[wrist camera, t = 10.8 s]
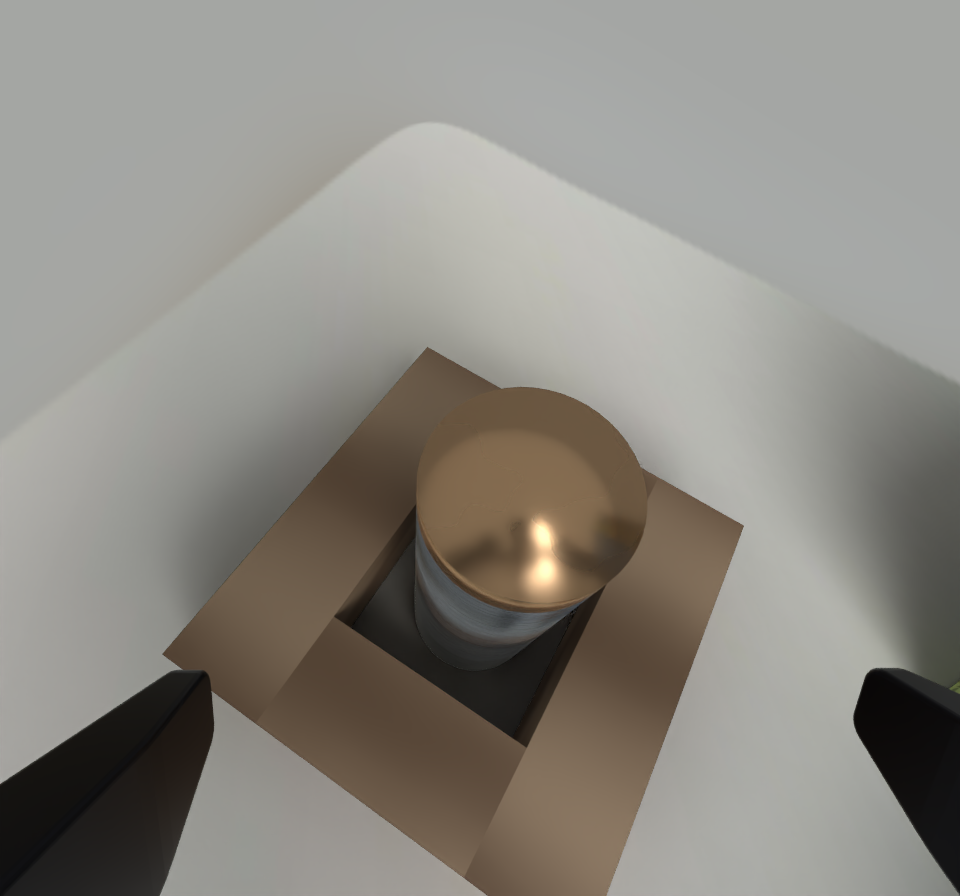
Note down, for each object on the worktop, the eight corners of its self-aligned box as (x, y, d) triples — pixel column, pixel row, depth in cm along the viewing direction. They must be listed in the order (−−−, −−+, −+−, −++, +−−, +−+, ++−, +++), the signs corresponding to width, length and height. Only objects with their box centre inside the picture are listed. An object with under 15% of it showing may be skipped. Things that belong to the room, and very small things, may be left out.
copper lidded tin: (457, 697, 17) (508, 656, 8) (391, 588, 18) (372, 449, 9) (557, 623, 18) (694, 518, 9) (489, 527, 19) (552, 355, 11)
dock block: (550, 923, 14) (580, 964, 12) (202, 667, 16) (162, 654, 14) (699, 553, 20) (744, 525, 17) (425, 394, 22) (427, 347, 19)
